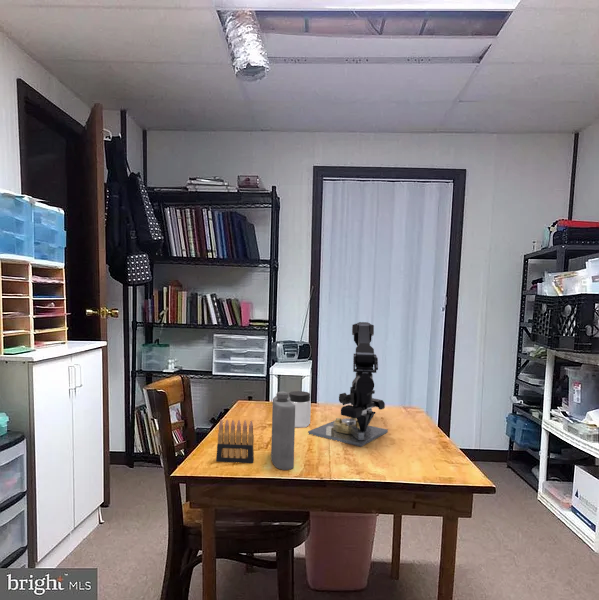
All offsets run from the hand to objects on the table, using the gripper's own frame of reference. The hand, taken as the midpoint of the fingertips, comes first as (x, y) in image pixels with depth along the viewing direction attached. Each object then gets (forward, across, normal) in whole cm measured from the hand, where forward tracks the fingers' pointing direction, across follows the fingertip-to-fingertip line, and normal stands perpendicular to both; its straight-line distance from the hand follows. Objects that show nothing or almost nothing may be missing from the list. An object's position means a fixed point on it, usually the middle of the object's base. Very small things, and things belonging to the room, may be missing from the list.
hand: (362, 432), depth 147 cm
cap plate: (+3, -3, -8) cm, 9 cm away
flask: (+2, +34, -6) cm, 35 cm away
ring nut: (+1, -1, -5) cm, 5 cm away
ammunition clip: (+2, +44, -14) cm, 47 cm away
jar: (+3, +3, -28) cm, 28 cm away
